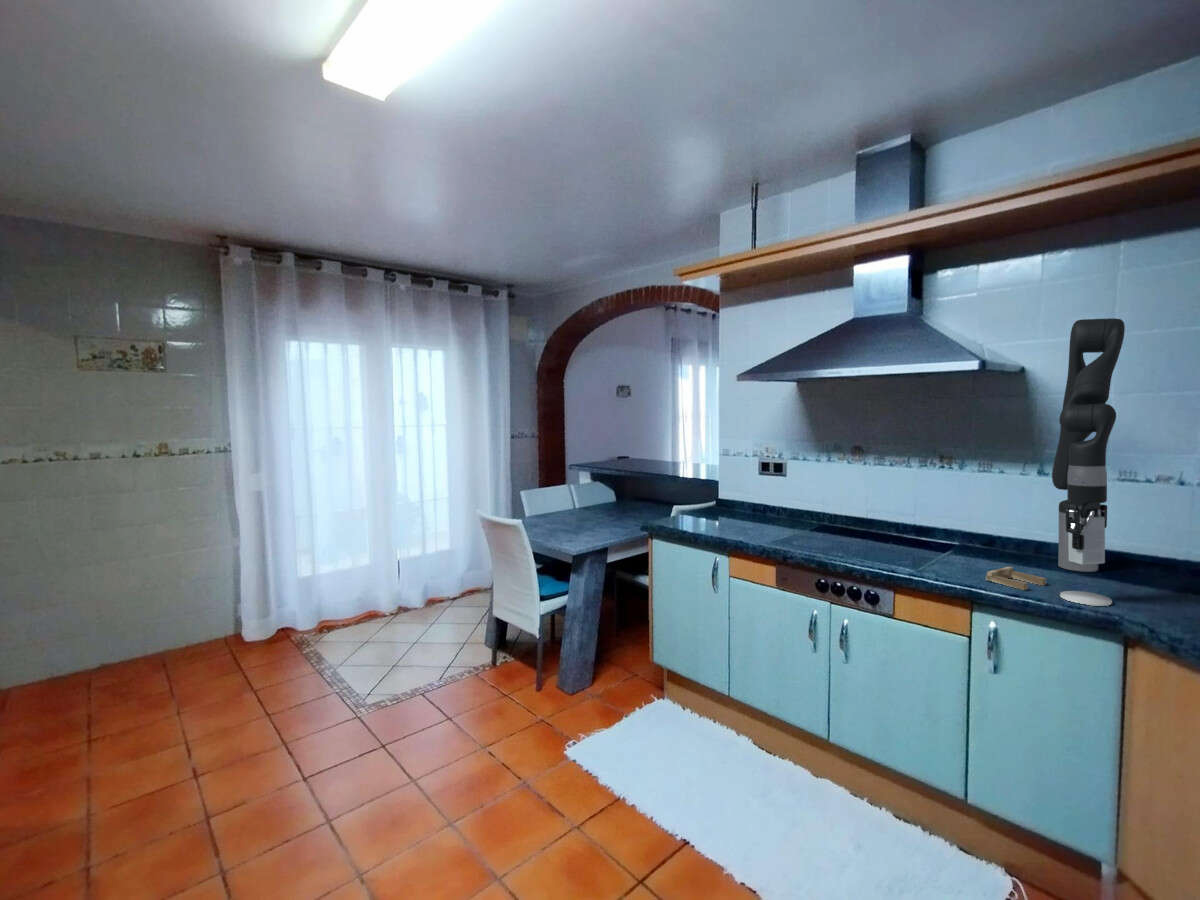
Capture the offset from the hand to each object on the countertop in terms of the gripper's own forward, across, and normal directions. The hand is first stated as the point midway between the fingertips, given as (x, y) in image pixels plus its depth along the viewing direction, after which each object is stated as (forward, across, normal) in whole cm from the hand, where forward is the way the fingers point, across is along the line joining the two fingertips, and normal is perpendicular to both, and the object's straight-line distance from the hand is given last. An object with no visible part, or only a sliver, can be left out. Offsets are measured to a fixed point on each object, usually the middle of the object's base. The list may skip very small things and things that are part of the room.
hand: (1086, 547), depth 140 cm
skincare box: (+4, 0, 0) cm, 4 cm away
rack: (+14, 0, +16) cm, 21 cm away
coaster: (+14, 0, 0) cm, 14 cm away
